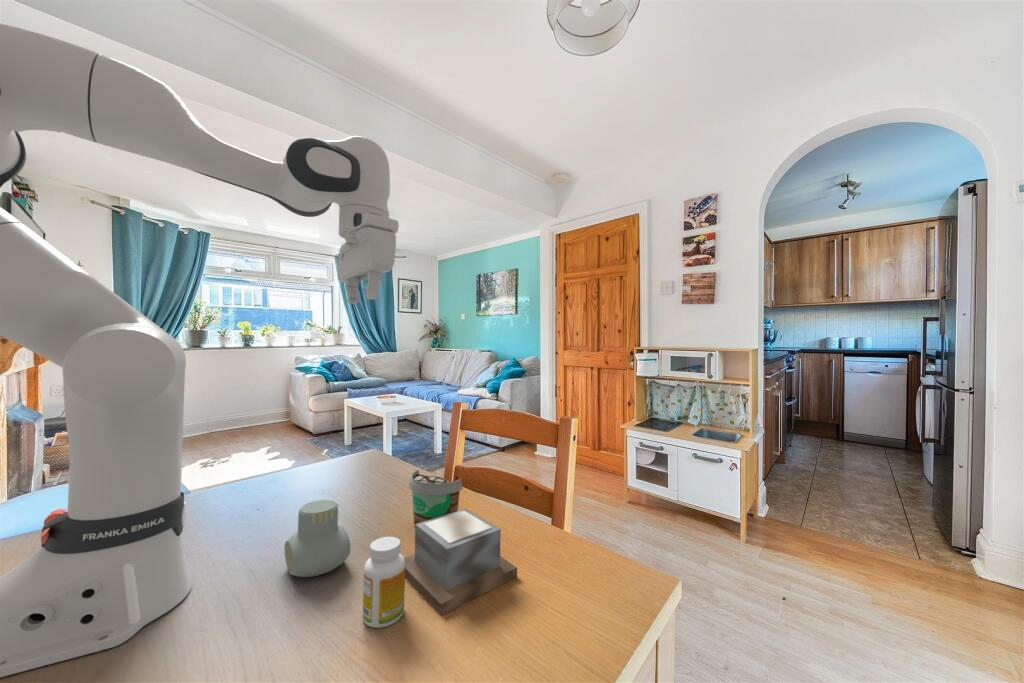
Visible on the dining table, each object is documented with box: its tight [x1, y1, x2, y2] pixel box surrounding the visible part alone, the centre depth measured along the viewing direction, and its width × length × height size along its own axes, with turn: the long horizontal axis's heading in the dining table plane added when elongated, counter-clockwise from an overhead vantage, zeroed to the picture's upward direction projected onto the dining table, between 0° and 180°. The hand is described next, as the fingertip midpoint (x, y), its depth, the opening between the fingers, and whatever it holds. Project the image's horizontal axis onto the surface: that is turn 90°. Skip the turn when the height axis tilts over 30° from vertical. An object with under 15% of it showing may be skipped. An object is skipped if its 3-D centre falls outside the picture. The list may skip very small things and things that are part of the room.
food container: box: [408, 469, 463, 525], centre depth 77 cm, size 12×6×10 cm, turn 62°
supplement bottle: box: [362, 536, 406, 629], centre depth 52 cm, size 5×5×10 cm
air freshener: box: [284, 499, 351, 578], centre depth 63 cm, size 11×8×10 cm
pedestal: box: [404, 508, 518, 616], centre depth 62 cm, size 14×14×8 cm
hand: (361, 301), depth 72 cm, fingers open, 8 cm apart
